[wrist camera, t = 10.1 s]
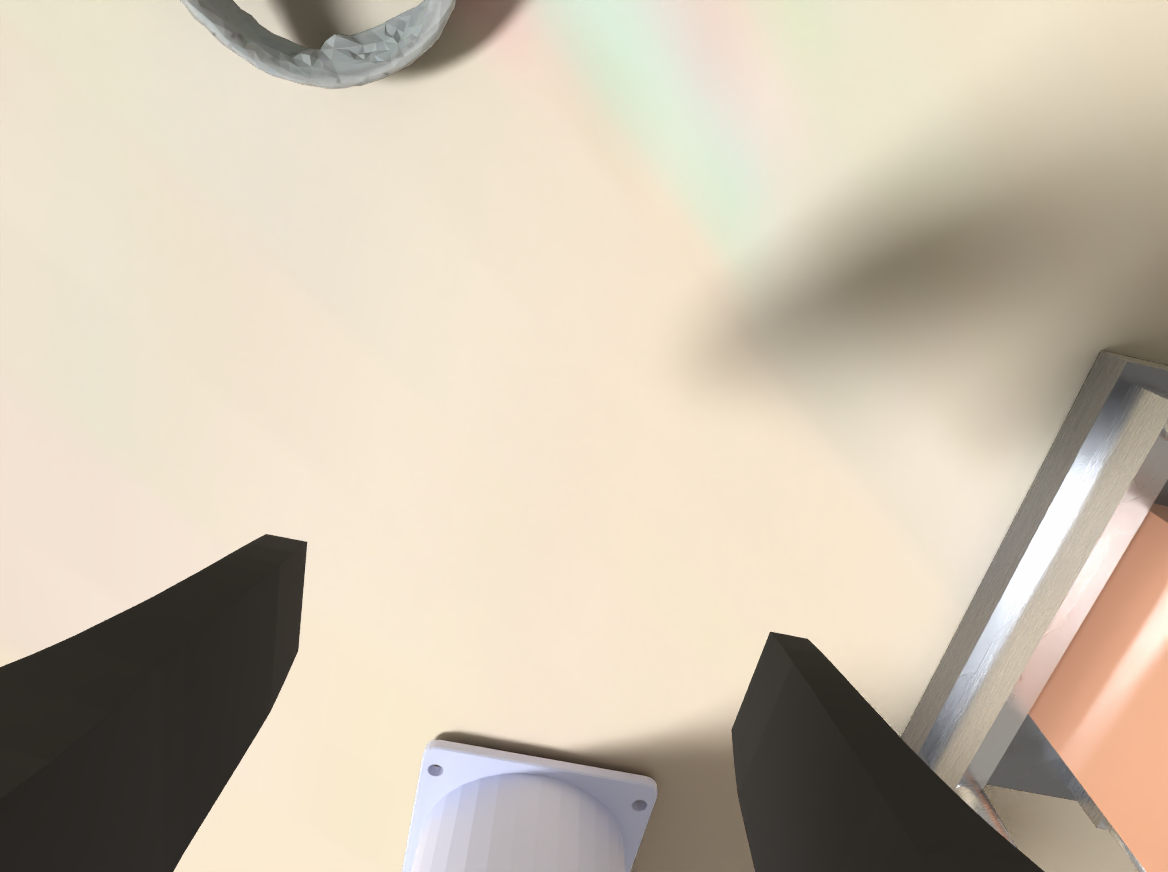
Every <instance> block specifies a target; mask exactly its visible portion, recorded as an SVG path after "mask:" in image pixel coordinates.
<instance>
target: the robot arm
mask: <svg viewBox="0 0 1168 872" xmlns="http://www.w3.org/2000/svg"><path fill="white" fill-rule="evenodd" d="M306 550H307V542H304V541H299V540H294V539H289V538H284V537H279V536H273V535H268V534H266V535H264V536H262V537H260V538H258V539H256V540H254V541H252V542H250V543H249V544H247V545H245V546H243V547H242V548H240V549H238V550H236V551H235V552H233V553H231V554H229V555H227V556H226V557H224V558H222V559H220V560H219V561H217V562H215V563H213V564H212V565H210V566H208V567H206V568H205V569H203V570H201V571H199V572H198V573H196V574H194V575H192V576H190V577H188V578H187V579H185V580H183V581H181V582H179V583H177V584H176V585H174V586H172V587H170V588H168V589H166V590H165V591H163V592H161V593H159V594H157V595H155V596H154V597H152V598H150V599H148V600H146V601H144V602H142V603H140V604H138V605H136V606H134V607H132V608H130V609H128V610H126V611H124V612H122V613H120V614H118V615H116V616H114V617H112V618H110V619H108V620H105V621H103V622H101V623H99V624H97V625H95V626H93V627H91V628H89V629H87V630H85V631H83V632H81V633H79V634H77V635H75V636H73V637H71V638H68V639H66V640H64V641H62V642H60V643H57V644H55V645H53V646H50V647H48V648H46V649H44V650H41V651H39V652H37V653H34V654H32V655H30V656H27V657H25V658H22V659H20V660H17V661H15V662H12V663H10V664H7V665H5V666H2V667H0V872H173V871H174V869H175V868H176V866H177V864H178V862H179V860H180V859H181V857H182V855H183V853H184V852H185V850H186V849H187V847H188V845H189V844H190V842H191V840H192V839H193V837H194V836H195V834H196V832H197V831H198V829H199V827H200V826H201V824H202V823H203V821H204V819H205V818H206V816H207V815H208V813H209V811H210V810H211V808H212V806H213V805H214V803H215V802H216V800H217V798H218V797H219V795H220V793H221V792H222V790H223V789H224V787H225V785H226V784H227V782H228V780H229V779H230V777H231V776H232V774H233V772H234V771H235V769H236V768H237V766H238V764H239V763H240V761H241V759H242V758H243V756H244V754H245V753H246V751H247V750H248V748H249V746H250V745H251V743H252V741H253V740H254V738H255V736H256V735H257V733H258V731H259V730H260V728H261V726H262V725H263V723H264V721H265V720H266V718H267V716H268V715H269V713H270V711H271V709H272V707H273V705H274V703H275V701H276V699H277V696H278V694H279V692H280V690H281V688H282V686H283V684H284V681H285V679H286V677H287V675H288V672H289V670H290V668H291V666H292V663H293V661H294V659H295V657H296V654H297V652H298V646H299V634H300V622H301V610H302V598H303V586H304V574H305V562H306ZM732 741H733V753H734V764H735V773H736V782H737V791H738V797H739V802H740V806H741V811H742V816H743V820H744V824H745V829H746V833H747V838H748V842H749V847H750V851H751V855H752V859H753V864H754V868H755V872H1044V871H1043V870H1042V869H1041V868H1039V867H1038V866H1037V865H1036V864H1035V863H1033V862H1032V861H1031V860H1030V859H1029V858H1028V857H1026V856H1025V855H1024V854H1023V853H1022V852H1021V851H1020V850H1018V849H1017V848H1016V847H1015V846H1014V845H1013V844H1011V843H1010V842H1009V841H1008V840H1007V839H1006V838H1004V837H1003V836H1002V835H1001V834H1000V833H999V832H997V831H996V830H995V829H994V828H993V827H992V826H991V825H989V824H988V823H987V822H986V821H985V820H984V819H983V818H982V817H981V816H980V815H979V814H977V813H976V812H975V811H974V810H973V809H972V808H971V807H970V806H969V805H968V804H967V803H966V802H965V801H964V800H962V799H961V798H960V797H959V796H958V795H957V794H956V793H955V792H954V791H953V790H952V789H951V788H950V787H949V786H948V785H947V784H946V783H945V782H944V781H943V780H942V779H941V778H940V777H939V776H938V775H937V774H936V773H935V772H934V771H933V770H932V769H931V768H930V767H929V766H928V765H927V764H926V763H925V762H924V761H923V760H922V759H921V758H920V757H919V756H918V755H917V754H916V753H915V752H914V751H913V750H912V749H911V748H910V747H909V746H908V745H907V744H906V743H905V742H904V741H903V740H902V739H901V738H900V737H899V736H898V734H897V733H896V732H895V731H894V730H893V729H892V728H891V727H890V726H889V725H888V724H887V723H886V722H885V721H884V720H883V718H882V717H881V716H880V715H879V714H878V713H877V712H876V711H875V710H874V709H873V708H872V707H871V705H870V704H869V703H868V702H867V701H866V700H865V699H864V698H863V697H862V696H861V695H860V693H859V692H858V691H857V690H856V689H855V688H854V687H853V686H852V685H851V684H850V683H849V681H848V680H847V679H846V678H845V677H844V676H843V675H842V674H841V673H840V672H839V671H838V669H837V668H836V667H835V666H834V665H833V664H832V663H831V662H830V661H829V660H828V659H827V658H826V657H825V656H824V655H823V653H822V652H821V651H820V650H819V649H818V648H817V647H816V646H815V645H813V644H812V643H811V642H810V641H809V640H808V639H805V638H800V637H795V636H790V635H785V634H779V633H774V632H770V634H769V636H768V639H767V641H766V644H765V646H764V649H763V651H762V654H761V656H760V659H759V662H758V664H757V667H756V669H755V672H754V674H753V677H752V679H751V682H750V684H749V687H748V690H747V692H746V695H745V697H744V700H743V702H742V705H741V707H740V710H739V712H738V715H737V717H736V720H735V723H734V725H733V728H732ZM436 764H437V765H439V766H440V767H437V766H434V765H436ZM657 794H658V791H657V784H656V782H655V781H654V780H653V779H652V778H650V777H647V776H643V775H637V774H631V773H626V772H620V771H614V770H609V769H603V768H597V767H592V766H586V765H580V764H575V763H569V762H563V761H558V760H552V759H546V758H541V757H535V756H529V755H524V754H518V753H512V752H507V751H501V750H496V749H490V748H484V747H479V746H473V745H467V744H462V743H456V742H450V741H445V740H434V741H430V742H429V743H428V744H427V745H426V747H425V750H424V753H423V757H422V763H421V769H420V774H419V780H418V785H417V791H416V796H415V802H414V808H413V813H412V819H411V824H410V830H409V836H408V841H407V847H406V852H405V858H404V864H403V869H402V872H630V871H631V869H632V866H633V863H634V860H635V857H636V855H637V852H638V849H639V846H640V843H641V841H642V838H643V835H644V832H645V829H646V827H647V824H648V821H649V818H650V815H651V813H652V810H653V807H654V804H655V802H656V799H657ZM637 800H642V801H637Z"/></svg>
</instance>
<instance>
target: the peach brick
mask: <svg viewBox="0 0 1168 872" xmlns="http://www.w3.org/2000/svg"><path fill="white" fill-rule="evenodd" d="M1028 714H1029V716H1030V717H1031V718H1032V720H1033V721H1034V722H1035V724H1036V725H1037V726H1038V728H1039V729H1040V730H1041V732H1042V733H1043V734H1044V736H1045V737H1046V738H1047V740H1048V741H1049V742H1050V744H1051V745H1052V746H1053V748H1054V749H1055V750H1056V752H1057V753H1058V754H1059V756H1060V757H1061V758H1062V760H1063V761H1064V762H1065V764H1066V765H1067V766H1068V768H1069V769H1070V770H1071V772H1072V773H1073V774H1074V776H1075V777H1076V778H1077V780H1078V781H1079V782H1080V784H1081V785H1082V786H1083V788H1084V789H1085V791H1086V792H1087V793H1088V795H1089V796H1090V797H1091V799H1092V800H1093V801H1094V803H1095V804H1096V805H1097V807H1098V808H1099V809H1100V811H1101V812H1102V813H1103V815H1104V816H1105V817H1106V819H1107V820H1108V821H1109V823H1110V824H1111V825H1112V827H1113V828H1114V829H1115V831H1116V832H1117V833H1118V835H1119V836H1120V837H1121V839H1122V840H1123V841H1124V843H1125V844H1126V845H1127V847H1128V848H1129V849H1130V851H1131V852H1132V853H1133V855H1134V856H1135V857H1136V859H1137V860H1138V861H1139V863H1140V864H1141V865H1142V867H1143V868H1144V869H1145V871H1146V872H1168V506H1163V505H1159V504H1154V503H1153V505H1152V506H1151V508H1150V510H1149V511H1148V513H1147V515H1146V516H1145V518H1144V520H1143V521H1142V523H1141V525H1140V526H1139V528H1138V530H1137V532H1136V533H1135V535H1134V537H1133V538H1132V540H1131V542H1130V543H1129V545H1128V547H1127V548H1126V550H1125V552H1124V553H1123V555H1122V557H1121V558H1120V560H1119V562H1118V563H1117V565H1116V567H1115V568H1114V570H1113V572H1112V573H1111V575H1110V577H1109V579H1108V580H1107V582H1106V584H1105V585H1104V587H1103V589H1102V590H1101V592H1100V594H1099V595H1098V597H1097V599H1096V600H1095V602H1094V604H1093V605H1092V607H1091V609H1090V610H1089V612H1088V614H1087V615H1086V617H1085V619H1084V620H1083V622H1082V624H1081V626H1080V627H1079V629H1078V631H1077V632H1076V634H1075V636H1074V637H1073V639H1072V641H1071V642H1070V644H1069V646H1068V647H1067V649H1066V651H1065V652H1064V654H1063V656H1062V657H1061V659H1060V661H1059V662H1058V664H1057V666H1056V667H1055V669H1054V671H1053V673H1052V674H1051V676H1050V678H1049V679H1048V681H1047V683H1046V684H1045V686H1044V688H1043V689H1042V691H1041V693H1040V694H1039V696H1038V698H1037V699H1036V701H1035V703H1034V704H1033V706H1032V708H1031V709H1030V711H1029V713H1028Z"/></svg>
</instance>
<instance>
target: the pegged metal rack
mask: <svg viewBox="0 0 1168 872" xmlns="http://www.w3.org/2000/svg"><path fill="white" fill-rule="evenodd" d="M1153 503H1154V504H1159V505H1163V506H1168V365H1164V364H1159V363H1155V362H1150V361H1146V360H1142V359H1137V358H1133V357H1129V356H1124V355H1120V354H1116V353H1111V352H1107V351H1103V350H1101V352H1100V354H1099V356H1098V358H1097V360H1096V362H1095V363H1094V365H1093V367H1092V369H1091V371H1090V373H1089V375H1088V377H1087V379H1086V381H1085V383H1084V385H1083V387H1082V389H1081V391H1080V393H1079V394H1078V396H1077V398H1076V400H1075V402H1074V404H1073V406H1072V408H1071V410H1070V412H1069V414H1068V416H1067V418H1066V420H1065V422H1064V424H1063V425H1062V427H1061V429H1060V431H1059V433H1058V435H1057V437H1056V439H1055V441H1054V443H1053V445H1052V447H1051V449H1050V451H1049V453H1048V455H1047V456H1046V458H1045V460H1044V462H1043V464H1042V466H1041V468H1040V470H1039V472H1038V474H1037V476H1036V478H1035V480H1034V482H1033V484H1032V486H1031V487H1030V489H1029V491H1028V493H1027V495H1026V497H1025V499H1024V501H1023V503H1022V505H1021V507H1020V509H1019V511H1018V513H1017V515H1016V517H1015V518H1014V520H1013V522H1012V524H1011V526H1010V528H1009V530H1008V532H1007V534H1006V536H1005V538H1004V540H1003V542H1002V544H1001V546H1000V548H999V549H998V551H997V553H996V555H995V557H994V559H993V561H992V563H991V565H990V567H989V569H988V571H987V573H986V575H985V577H984V579H983V580H982V582H981V584H980V586H979V588H978V590H977V592H976V594H975V596H974V598H973V600H972V602H971V604H970V606H969V608H968V610H967V611H966V613H965V615H964V617H963V619H962V621H961V623H960V625H959V627H958V629H957V631H956V633H955V635H954V637H953V639H952V641H951V642H950V644H949V646H948V648H947V650H946V652H945V654H944V656H943V658H942V660H941V662H940V664H939V666H938V668H937V670H936V672H935V673H934V675H933V677H932V679H931V681H930V683H929V685H928V687H927V689H926V691H925V693H924V695H923V697H922V699H921V701H920V703H919V704H918V706H917V708H916V710H915V712H914V714H913V716H912V718H911V720H910V722H909V724H908V726H907V728H906V730H905V732H904V734H903V735H902V737H901V739H902V740H903V741H904V742H905V743H906V744H907V745H908V746H909V747H910V748H911V749H912V750H913V751H914V752H915V753H916V754H917V755H918V756H919V757H920V758H921V759H922V760H923V761H924V762H925V763H926V764H927V765H928V766H929V767H930V768H931V769H932V770H933V771H934V772H935V773H936V774H937V775H938V776H939V777H940V778H941V779H942V780H943V781H944V782H945V783H946V784H947V785H948V786H949V787H950V788H951V789H952V790H953V791H954V792H955V793H956V794H957V795H958V796H959V797H960V798H961V799H962V800H964V801H965V802H966V803H967V804H968V805H969V806H970V807H971V808H972V809H973V810H974V811H975V812H976V813H977V814H979V815H980V816H981V817H982V818H983V819H984V820H985V821H986V822H987V823H988V824H989V825H991V826H992V827H993V828H994V829H995V830H996V831H997V832H999V833H1000V834H1001V835H1002V836H1003V837H1004V838H1006V839H1007V840H1008V841H1009V842H1010V843H1011V844H1013V845H1014V846H1015V847H1016V845H1015V844H1014V842H1013V840H1012V839H1011V837H1010V835H1009V833H1008V832H1007V830H1006V828H1005V827H1004V825H1003V823H1002V822H1001V820H1000V818H999V817H998V815H997V813H996V812H995V810H994V808H993V806H992V805H991V803H990V801H989V800H988V798H987V796H986V795H985V793H984V791H983V788H984V787H985V785H986V784H988V785H993V786H998V787H1004V788H1009V789H1015V790H1020V791H1026V792H1031V793H1037V794H1042V795H1048V796H1053V797H1059V798H1064V799H1070V800H1075V801H1077V802H1078V803H1079V804H1080V806H1081V807H1082V808H1083V810H1084V811H1085V813H1086V814H1087V815H1088V817H1089V818H1090V820H1091V821H1092V822H1093V824H1094V825H1095V826H1096V828H1101V829H1106V830H1109V832H1110V833H1111V834H1112V836H1113V837H1114V839H1115V840H1116V841H1117V843H1118V844H1119V845H1120V847H1121V848H1122V849H1123V851H1124V852H1125V853H1126V855H1127V856H1128V858H1129V859H1130V860H1131V862H1132V863H1133V864H1134V866H1135V867H1136V868H1137V870H1138V871H1139V872H1146V871H1145V869H1144V868H1143V867H1142V865H1141V864H1140V863H1139V861H1138V860H1137V859H1136V857H1135V856H1134V855H1133V853H1132V852H1131V851H1130V849H1129V848H1128V847H1127V845H1126V844H1125V843H1124V841H1123V840H1122V839H1121V837H1120V836H1119V835H1118V833H1117V832H1116V831H1115V829H1114V828H1113V827H1112V825H1111V824H1110V823H1109V821H1108V820H1107V819H1106V817H1105V816H1104V815H1103V813H1102V812H1101V811H1100V809H1099V808H1098V807H1097V805H1096V804H1095V803H1094V801H1093V800H1092V799H1091V797H1090V796H1089V795H1088V793H1087V792H1086V791H1085V789H1084V788H1083V786H1082V785H1081V784H1080V782H1079V781H1078V780H1077V778H1076V777H1075V776H1074V774H1073V773H1072V772H1071V770H1070V769H1069V768H1068V766H1067V765H1066V764H1065V762H1064V761H1063V760H1062V758H1061V757H1060V756H1059V754H1058V753H1057V752H1056V750H1055V749H1054V748H1053V746H1052V745H1051V744H1050V742H1049V741H1048V740H1047V738H1046V737H1045V736H1044V734H1043V733H1042V732H1041V730H1040V729H1039V728H1038V726H1037V725H1036V724H1035V722H1034V721H1033V720H1032V718H1031V717H1030V716H1029V714H1028V713H1029V711H1030V709H1031V708H1032V706H1033V704H1034V703H1035V701H1036V699H1037V698H1038V696H1039V694H1040V693H1041V691H1042V689H1043V688H1044V686H1045V684H1046V683H1047V681H1048V679H1049V678H1050V676H1051V674H1052V673H1053V671H1054V669H1055V667H1056V666H1057V664H1058V662H1059V661H1060V659H1061V657H1062V656H1063V654H1064V652H1065V651H1066V649H1067V647H1068V646H1069V644H1070V642H1071V641H1072V639H1073V637H1074V636H1075V634H1076V632H1077V631H1078V629H1079V627H1080V626H1081V624H1082V622H1083V620H1084V619H1085V617H1086V615H1087V614H1088V612H1089V610H1090V609H1091V607H1092V605H1093V604H1094V602H1095V600H1096V599H1097V597H1098V595H1099V594H1100V592H1101V590H1102V589H1103V587H1104V585H1105V584H1106V582H1107V580H1108V579H1109V577H1110V575H1111V573H1112V572H1113V570H1114V568H1115V567H1116V565H1117V563H1118V562H1119V560H1120V558H1121V557H1122V555H1123V553H1124V552H1125V550H1126V548H1127V547H1128V545H1129V543H1130V542H1131V540H1132V538H1133V537H1134V535H1135V533H1136V532H1137V530H1138V528H1139V526H1140V525H1141V523H1142V521H1143V520H1144V518H1145V516H1146V515H1147V513H1148V511H1149V510H1150V508H1151V506H1152V505H1153ZM1016 848H1017V847H1016Z"/></svg>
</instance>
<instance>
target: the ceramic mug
mask: <svg viewBox="0 0 1168 872" xmlns="http://www.w3.org/2000/svg"><path fill="white" fill-rule="evenodd" d="M180 1H181V2H182V3H183V4H184V5H185V6H186V8H187V9H188V10H189V12H190V13H191V15H192V16H193V17H194V19H196V20H197V21H198V22H200V23H201V24H202V25H203V26H205V27H206V28H207V29H208V30H209V31H210V32H211V33H212V34H213V35H214V36H215V37H216V38H217V39H218V40H219V41H220V42H221V43H222V44H223V45H224V46H226V47H227V48H229V49H230V50H232V51H233V52H235V53H236V54H237V55H239V56H240V57H242V58H243V59H245V60H246V61H248V62H249V63H251V64H252V65H253V66H255V67H256V68H258V69H260V70H262V71H264V72H266V73H268V74H270V75H272V76H275V77H278V78H282V79H285V80H288V81H292V82H295V83H298V84H302V85H309V86H315V87H322V88H328V89H338V88H347V87H351V86H362V85H365V84H368V83H371V82H374V81H376V80H379V79H382V78H385V77H387V76H389V75H391V74H393V73H395V72H397V71H399V70H401V69H403V68H405V67H407V66H409V65H411V64H412V63H413V62H414V61H416V60H417V59H418V58H419V57H420V56H421V55H422V54H424V53H425V52H426V51H427V50H428V49H429V48H430V47H432V46H433V44H434V43H435V41H437V40H438V39H439V38H440V36H441V33H442V31H443V29H444V27H445V25H446V23H447V21H448V19H449V17H450V15H451V13H452V11H453V10H454V8H455V3H456V0H424V1H423V2H422V3H421V4H419V5H418V6H417V7H415V8H412V9H409V10H407V11H405V12H403V13H401V14H400V15H398V16H396V17H394V18H392V19H390V20H388V21H386V22H385V23H383V24H381V25H379V26H377V27H374V28H372V29H369V30H366V31H364V32H361V33H358V34H355V35H352V36H347V35H339V34H334V35H333V36H332V37H330V38H329V39H327V40H326V41H325V42H324V44H323V46H322V48H321V49H312V48H305V47H303V46H301V45H299V44H296V43H294V42H292V41H290V40H288V39H285V38H283V37H280V36H278V35H275V34H273V33H271V32H270V31H268V30H267V29H266V28H264V27H263V26H261V25H260V24H259V23H258V22H257V21H256V20H255V19H254V18H253V16H252V15H250V14H248V13H247V12H245V11H243V10H242V9H241V8H240V7H239V6H238V5H237V4H236V3H235V2H234V1H233V0H180Z"/></svg>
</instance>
